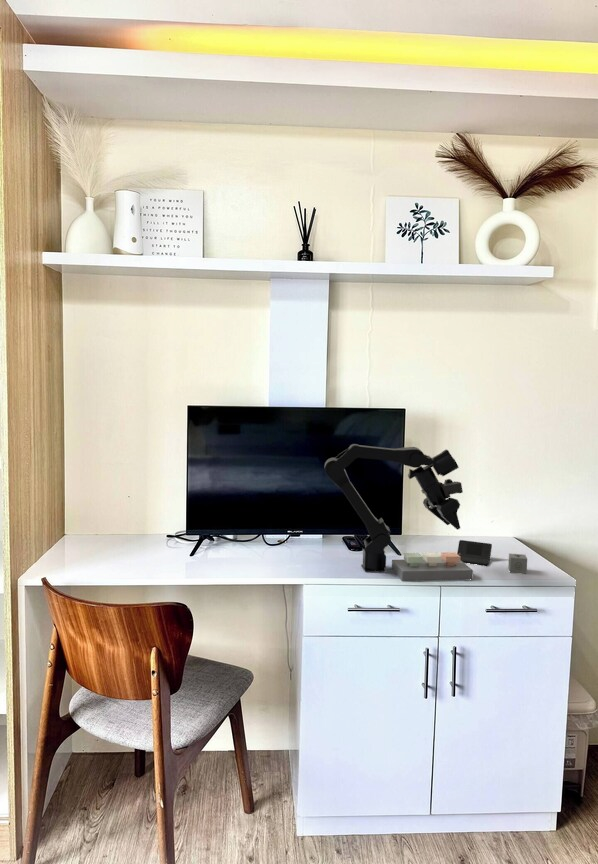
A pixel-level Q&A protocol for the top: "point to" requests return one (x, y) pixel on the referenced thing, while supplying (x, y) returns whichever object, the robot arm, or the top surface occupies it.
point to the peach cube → (450, 558)
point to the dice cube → (517, 563)
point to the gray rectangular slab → (431, 571)
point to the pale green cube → (413, 559)
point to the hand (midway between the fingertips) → (453, 526)
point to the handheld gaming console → (474, 552)
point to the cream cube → (432, 558)
